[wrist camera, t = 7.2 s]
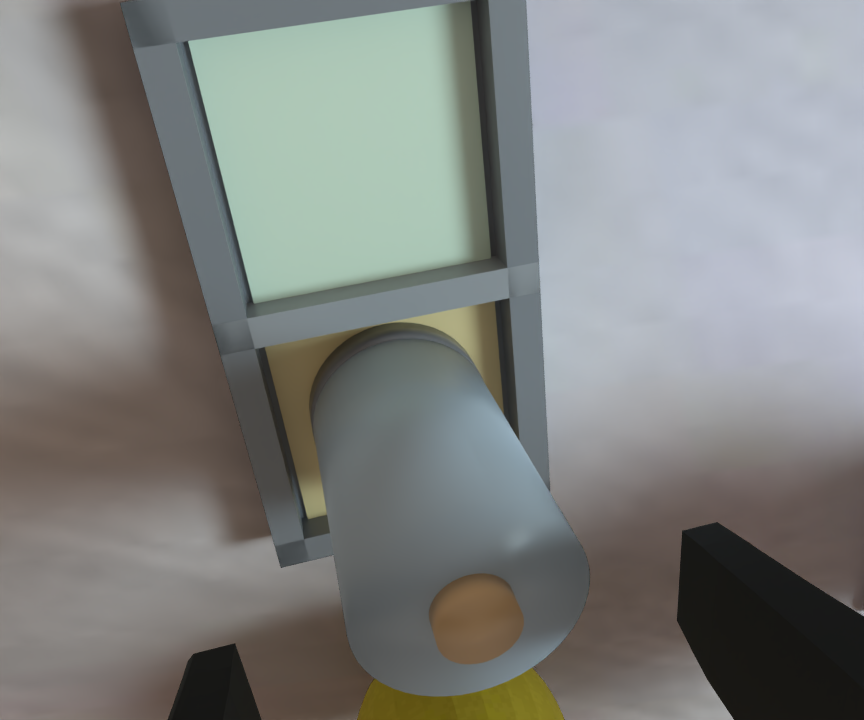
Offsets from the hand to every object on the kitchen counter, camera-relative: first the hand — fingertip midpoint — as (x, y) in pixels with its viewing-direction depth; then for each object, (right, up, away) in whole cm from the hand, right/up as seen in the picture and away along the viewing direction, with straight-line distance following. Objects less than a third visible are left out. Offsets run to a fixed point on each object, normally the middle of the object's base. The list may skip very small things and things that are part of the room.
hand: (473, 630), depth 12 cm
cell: (-1, +3, +6) cm, 7 cm away
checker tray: (-2, +6, +5) cm, 8 cm away
